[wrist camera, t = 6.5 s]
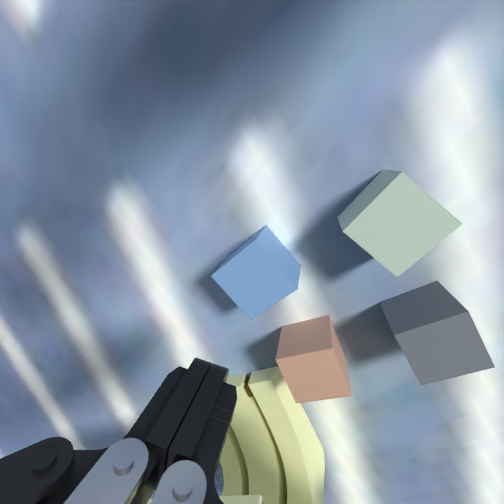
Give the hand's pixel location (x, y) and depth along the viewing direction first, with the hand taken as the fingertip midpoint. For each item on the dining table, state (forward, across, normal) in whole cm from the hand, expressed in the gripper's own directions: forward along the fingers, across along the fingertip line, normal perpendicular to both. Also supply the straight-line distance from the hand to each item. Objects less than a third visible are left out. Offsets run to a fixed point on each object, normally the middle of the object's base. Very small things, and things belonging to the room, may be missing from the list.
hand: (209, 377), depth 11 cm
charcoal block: (+15, -14, +2) cm, 21 cm away
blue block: (+15, 0, +1) cm, 15 cm away
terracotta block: (+15, -7, +8) cm, 18 cm away
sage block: (+15, -8, -6) cm, 19 cm away
